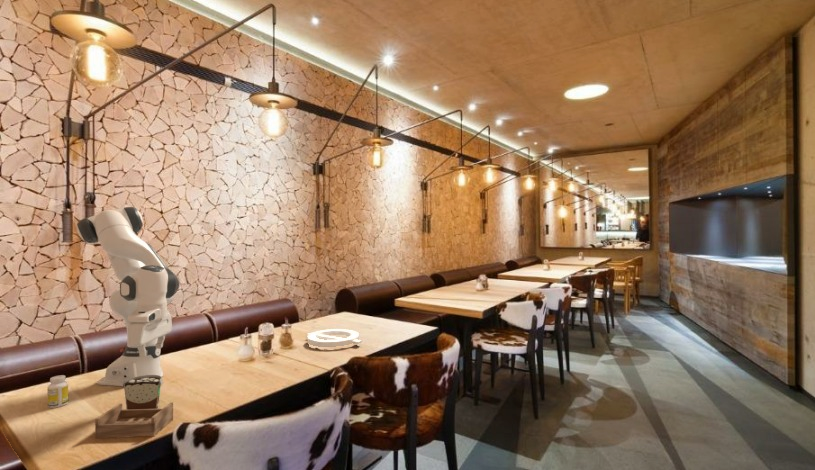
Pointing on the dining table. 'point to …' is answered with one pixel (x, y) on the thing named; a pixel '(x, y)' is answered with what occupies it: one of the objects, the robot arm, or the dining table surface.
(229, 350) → the dining table surface
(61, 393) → the supplement bottle
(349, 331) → the white circle with bar
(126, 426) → the wooden tray
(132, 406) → the food container
